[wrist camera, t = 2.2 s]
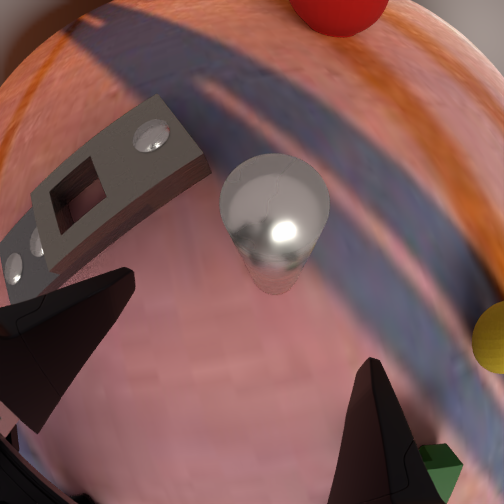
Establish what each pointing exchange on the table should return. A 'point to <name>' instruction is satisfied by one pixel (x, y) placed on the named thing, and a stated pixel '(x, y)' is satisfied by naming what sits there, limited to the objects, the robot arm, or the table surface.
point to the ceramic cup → (339, 15)
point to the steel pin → (274, 217)
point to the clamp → (441, 467)
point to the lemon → (490, 339)
